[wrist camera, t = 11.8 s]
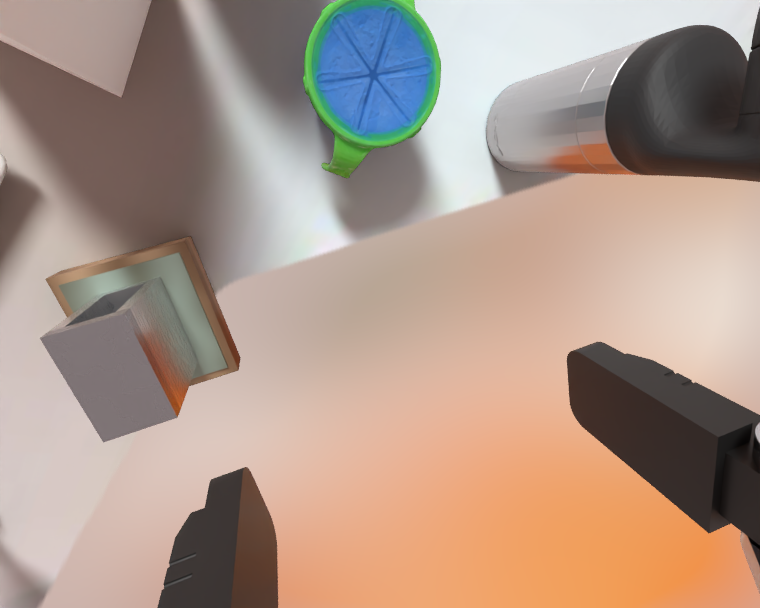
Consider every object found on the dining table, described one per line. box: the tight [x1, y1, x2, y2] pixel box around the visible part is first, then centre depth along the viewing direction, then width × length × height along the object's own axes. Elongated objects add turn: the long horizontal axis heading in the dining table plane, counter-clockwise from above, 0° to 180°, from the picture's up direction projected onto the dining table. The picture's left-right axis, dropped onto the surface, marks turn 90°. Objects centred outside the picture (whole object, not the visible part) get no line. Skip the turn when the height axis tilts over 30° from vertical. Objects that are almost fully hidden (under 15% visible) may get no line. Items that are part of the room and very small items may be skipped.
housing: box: [40, 277, 198, 442], centre depth 35 cm, size 6×9×10 cm, turn 14°
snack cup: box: [303, 0, 441, 178], centre depth 35 cm, size 16×10×10 cm
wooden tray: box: [46, 236, 240, 386], centre depth 41 cm, size 12×14×3 cm
